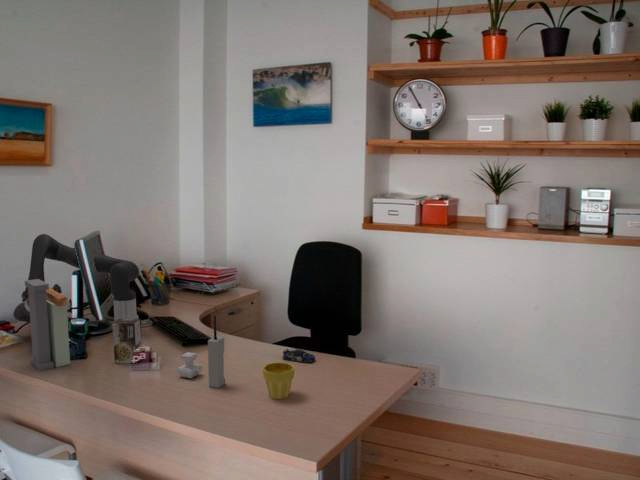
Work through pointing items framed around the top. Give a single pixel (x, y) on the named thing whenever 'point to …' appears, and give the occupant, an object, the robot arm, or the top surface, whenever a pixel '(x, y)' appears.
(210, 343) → the vintage mobile phone
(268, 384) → the plant pot
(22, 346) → the top surface
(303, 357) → the race car
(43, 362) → the tall stand
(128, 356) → the coffee box
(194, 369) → the stamp
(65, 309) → the pale green tall block
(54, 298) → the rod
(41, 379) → the top surface
